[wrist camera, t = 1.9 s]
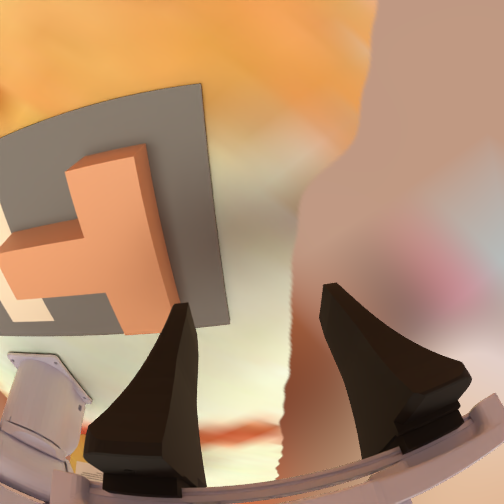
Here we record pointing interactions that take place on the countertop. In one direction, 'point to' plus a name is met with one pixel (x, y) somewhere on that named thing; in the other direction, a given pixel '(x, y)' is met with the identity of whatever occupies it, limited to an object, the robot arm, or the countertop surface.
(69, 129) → the slate mat
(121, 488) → the robot arm
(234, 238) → the countertop surface
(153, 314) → the t block
